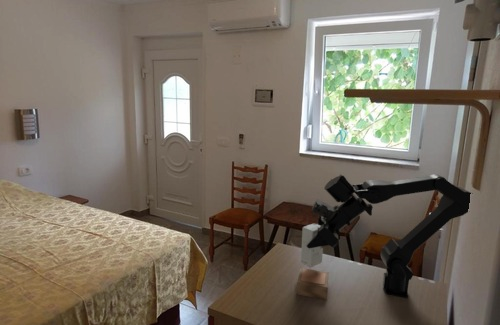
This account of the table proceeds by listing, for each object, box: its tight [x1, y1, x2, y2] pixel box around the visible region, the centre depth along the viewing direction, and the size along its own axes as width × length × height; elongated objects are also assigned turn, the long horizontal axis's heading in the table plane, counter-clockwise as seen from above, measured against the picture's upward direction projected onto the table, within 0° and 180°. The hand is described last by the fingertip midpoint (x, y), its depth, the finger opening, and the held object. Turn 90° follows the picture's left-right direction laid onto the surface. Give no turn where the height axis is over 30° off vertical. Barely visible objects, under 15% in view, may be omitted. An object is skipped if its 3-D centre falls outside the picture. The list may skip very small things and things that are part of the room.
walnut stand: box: [295, 267, 330, 301], centre depth 103 cm, size 9×9×4 cm
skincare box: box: [300, 222, 324, 268], centre depth 105 cm, size 6×4×12 cm
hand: (308, 242), depth 106 cm, fingers closed on skincare box, 7 cm apart
